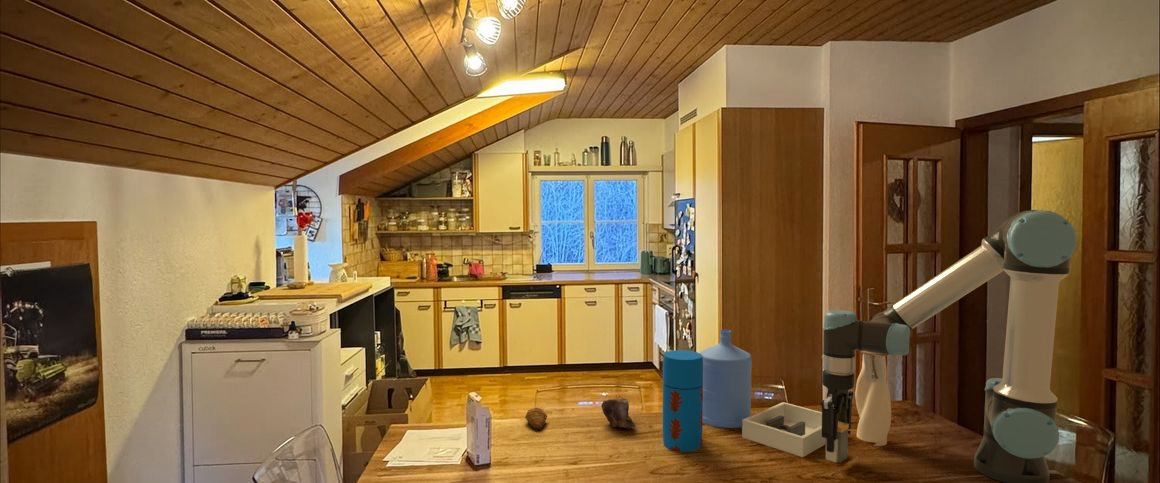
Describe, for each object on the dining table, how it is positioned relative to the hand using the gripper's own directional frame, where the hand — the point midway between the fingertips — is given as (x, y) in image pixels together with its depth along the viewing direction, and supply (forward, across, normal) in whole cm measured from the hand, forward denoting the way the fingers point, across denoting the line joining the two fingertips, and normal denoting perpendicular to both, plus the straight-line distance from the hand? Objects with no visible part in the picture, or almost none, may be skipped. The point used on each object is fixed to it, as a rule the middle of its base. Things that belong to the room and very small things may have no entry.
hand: (835, 460), depth 157 cm
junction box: (0, -5, -15) cm, 16 cm away
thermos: (+1, +20, -34) cm, 39 cm away
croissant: (+1, +40, -74) cm, 84 cm away
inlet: (-1, -5, -17) cm, 18 cm away
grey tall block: (0, 0, 0) cm, 0 cm away
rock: (+1, +23, -56) cm, 60 cm away
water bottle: (0, -20, +1) cm, 20 cm away
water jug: (+1, -3, -36) cm, 36 cm away
